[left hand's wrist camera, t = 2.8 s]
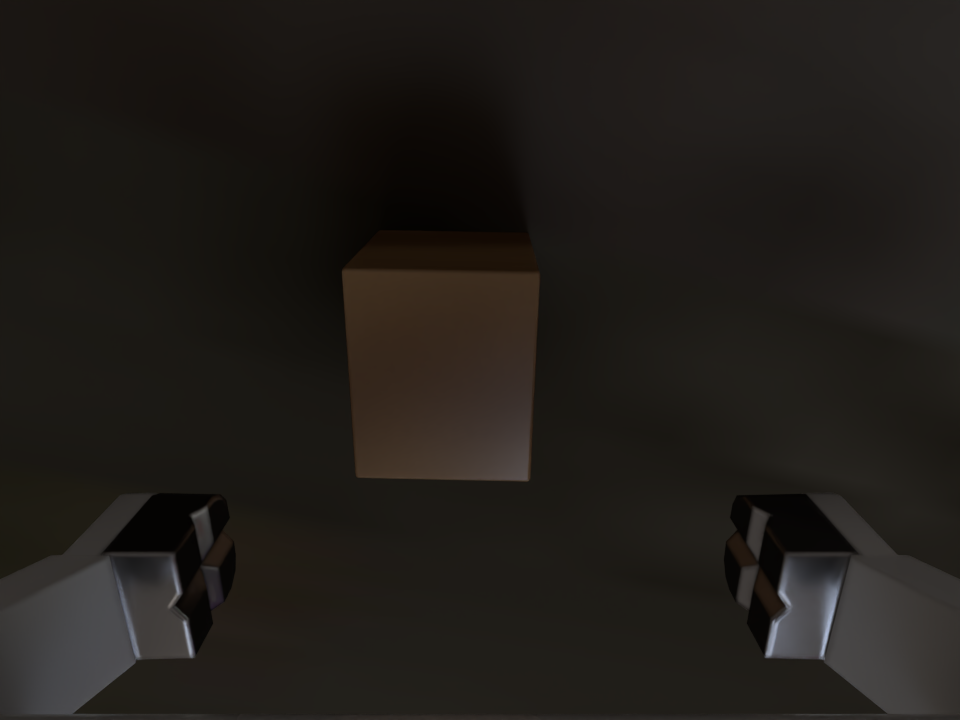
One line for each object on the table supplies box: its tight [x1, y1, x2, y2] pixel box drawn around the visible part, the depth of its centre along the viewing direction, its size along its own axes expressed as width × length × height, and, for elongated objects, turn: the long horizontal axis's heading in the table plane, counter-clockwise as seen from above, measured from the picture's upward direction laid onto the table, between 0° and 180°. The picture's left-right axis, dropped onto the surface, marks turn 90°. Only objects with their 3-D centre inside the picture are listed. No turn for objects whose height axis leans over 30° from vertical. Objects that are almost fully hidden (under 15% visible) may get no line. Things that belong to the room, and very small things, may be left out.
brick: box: [342, 230, 540, 481], centre depth 16 cm, size 5×4×4 cm
